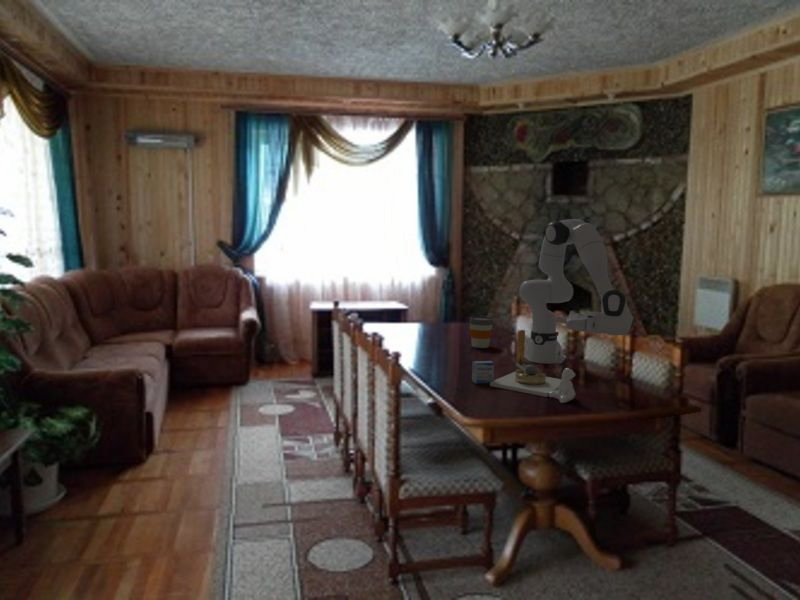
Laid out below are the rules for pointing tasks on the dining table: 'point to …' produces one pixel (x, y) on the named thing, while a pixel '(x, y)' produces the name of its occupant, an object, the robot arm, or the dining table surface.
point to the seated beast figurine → (564, 387)
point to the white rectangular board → (540, 390)
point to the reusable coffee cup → (480, 331)
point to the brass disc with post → (521, 373)
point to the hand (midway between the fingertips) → (556, 319)
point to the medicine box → (482, 372)
